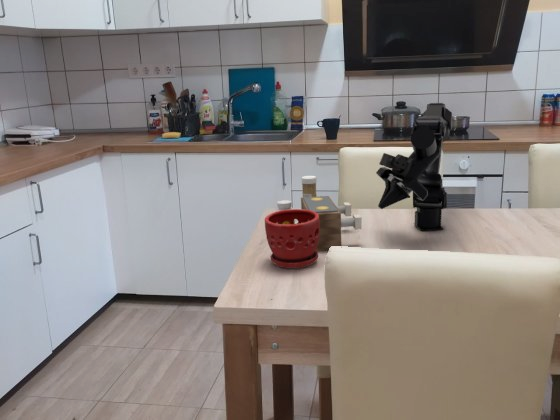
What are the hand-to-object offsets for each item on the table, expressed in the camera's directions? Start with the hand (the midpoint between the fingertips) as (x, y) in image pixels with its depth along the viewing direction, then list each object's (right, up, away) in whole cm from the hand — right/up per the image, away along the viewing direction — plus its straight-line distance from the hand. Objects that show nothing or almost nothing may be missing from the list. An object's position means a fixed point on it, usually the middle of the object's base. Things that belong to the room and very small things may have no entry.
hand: (379, 207), depth 139 cm
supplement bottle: (-24, -8, +14) cm, 29 cm away
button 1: (-11, -2, +13) cm, 17 cm away
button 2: (-10, -5, +1) cm, 11 cm away
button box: (-15, -9, +8) cm, 19 cm away
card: (-15, +1, +6) cm, 16 cm away
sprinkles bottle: (-16, -3, +29) cm, 34 cm away
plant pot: (-23, -14, -8) cm, 27 cm away
